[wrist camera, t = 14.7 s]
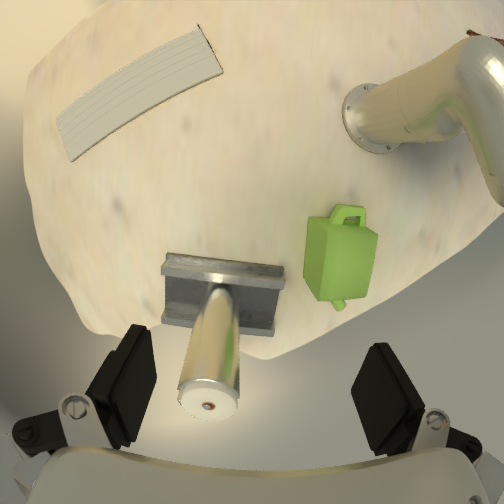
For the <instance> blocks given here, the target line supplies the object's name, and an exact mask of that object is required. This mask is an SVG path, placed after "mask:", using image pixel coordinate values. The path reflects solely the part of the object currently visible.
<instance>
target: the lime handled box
mask: <svg viewBox="0 0 504 504" xmlns="http://www.w3.org/2000/svg"><path fill="white" fill-rule="evenodd" d="M350 216H356V219H355V221H354V220H349V219H345V218H346V217H350ZM365 220H366V210H365V208H364V207H361V206H351V205H336V207H335V208H334V210H333V212H332V214H331V216H330V218H328V217H309V221H308V230H307V240H306V250H305V261H304V271H303V277H304V279H305V281H306V282H307V284H308V286H309V288H310V289H311V291H312V293H313V294H314V296H315V298H316V299H317V301H331V303H332V304H333V306H334V308H335V309H336V310H337V311H341V310H343V309H344V308H345V306H346V303H345V301H344V300H348V299H356V298H363V297H366V294H367V291H368V287H369V282H370V278H371V273H372V268H373V263H374V258H375V252H376V245H377V237H378V234H377V233H375V232H374V231H372V230H370V229H369V228H367V227H365Z"/></svg>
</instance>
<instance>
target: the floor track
mask: <svg viewBox="0 0 504 504" xmlns="http://www.w3.org/2000/svg"><path fill="white" fill-rule="evenodd" d="M283 270H284V268H283V266H274V265H266V264H257V263H249V262H240V261H232V260H224V259H215V258H207V257H199V256H191V255H183V254H175V253H167V254H166V260H165V262H164V263H163V264H162V266H161V275H165V310H164V312H163V314H162V316H161V323H162V324H168V325H174V326H181V327H187V328H193V326H194V322H195V318H196V315H197V311H198V307H199V304H200V300H201V297H202V293H203V290H204V288H205V286H206V285H207V284H208V283H209V282H218V283H226V284H235V285H236V287H237V288H238V290H239V293H240V324H239V334H245V335H255V336H267V337H273V336H274V332H275V328H274V323H273V320H274V315H275V310H276V305H277V300H278V295H279V290H280V289H281V290H283V289H284V285H285V280H284V277H283Z"/></svg>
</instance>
